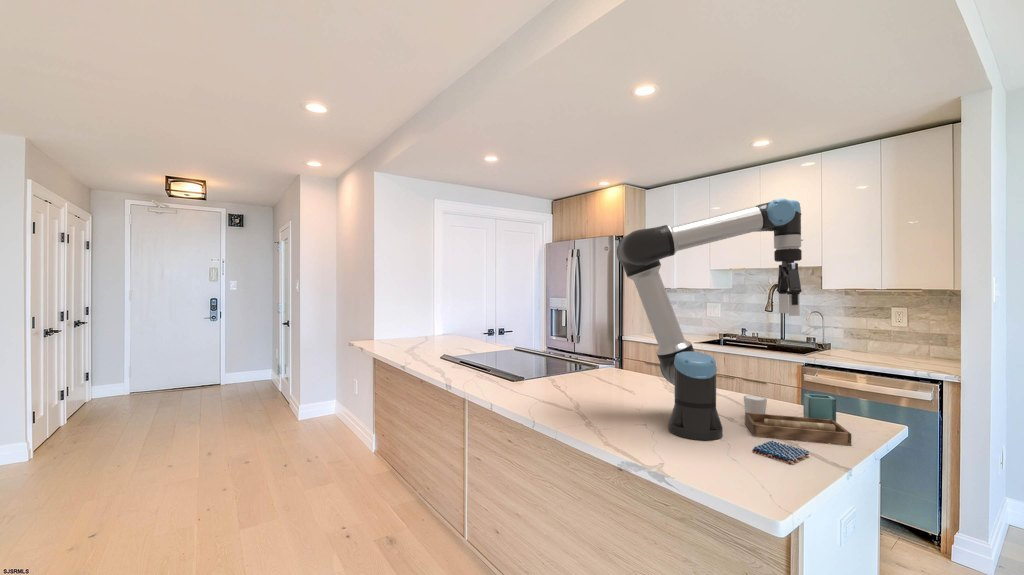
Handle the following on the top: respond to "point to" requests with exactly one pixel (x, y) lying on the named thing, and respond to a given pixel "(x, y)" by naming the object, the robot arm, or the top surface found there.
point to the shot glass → (755, 404)
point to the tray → (796, 429)
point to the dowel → (800, 425)
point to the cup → (819, 406)
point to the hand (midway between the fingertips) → (788, 314)
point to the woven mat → (781, 452)
